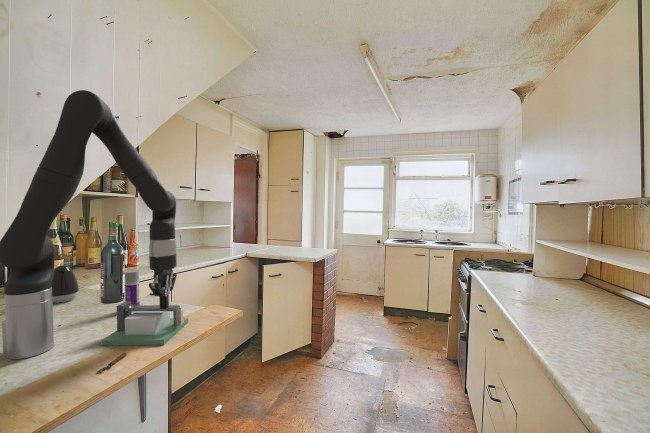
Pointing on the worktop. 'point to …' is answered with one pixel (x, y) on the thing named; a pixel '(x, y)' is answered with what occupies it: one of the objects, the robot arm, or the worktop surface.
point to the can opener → (113, 362)
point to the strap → (174, 308)
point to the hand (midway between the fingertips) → (164, 307)
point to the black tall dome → (64, 284)
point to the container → (132, 287)
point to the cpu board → (144, 338)
